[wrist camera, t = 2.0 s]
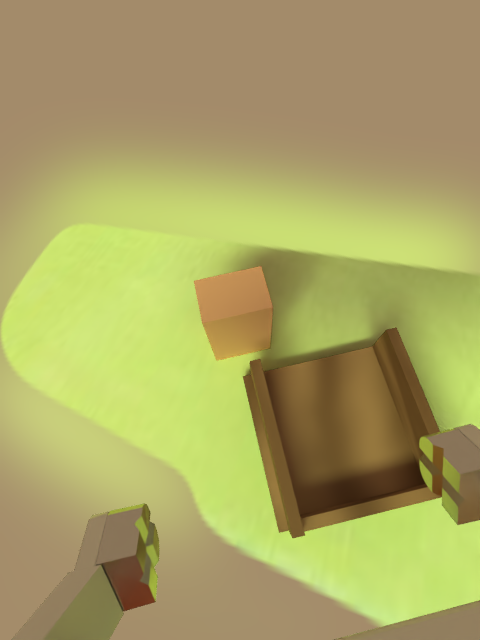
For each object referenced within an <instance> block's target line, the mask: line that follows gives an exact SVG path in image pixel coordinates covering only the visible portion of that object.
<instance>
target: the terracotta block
mask: <svg viewBox="0 0 480 640" xmlns="http://www.w3.org/2000/svg"><path fill="white" fill-rule="evenodd" d="M194 284H195V289H196V294H197V299H198V304H199V309H200V314H201V319H202V324H203V326H204V329H205V331H206V334H207V337H208V339H209V342H210V345H211V347H212V350H213V353H214V355H215V358H216V360H222V359H226V358H230V357H235V356H239V355H243V354H248V353H252V352H256V351H261V350H265V349H269V348H270V344H271V329H272V314H273V306H272V302H271V299H270V295H269V292H268V288H267V285H266V281H265V278H264V274H263V271H262V267H261V266H259V267H254V268H250V269H245V270H241V271H236V272H232V273H227V274H223V275H218V276H214V277H209V278H205V279H200V280H196V281H194Z"/></svg>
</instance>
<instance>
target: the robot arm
mask: <svg viewBox="0 0 480 640" xmlns="http://www.w3.org/2000/svg"><path fill="white" fill-rule="evenodd" d="M419 448H420V449H421V450H422V451H423V452H424V453H423V455H422V456H421V458H420V459H419V462H420V471H421V474H422V477H423V479H424V481H425V483H426V485H427V486H428V487H429V489H430V490H431V491H432V493H435V494H437V495H439V496H441V497H442V506H443V507H444V508H445V510H446V511H447V512H448V513H449V515H450V516H451V517H452V519H453V520H454V521H455V522H456V524H457V525H460V524H464V523H469V522H473V521H478V520H480V430H479V429H478V428H477V427H476V426H474V425H471V424H469V425H465V426H461V427H457V428H454V429H449V430H445V431H441V432H437V433H433V434H429V435H425V436H422V437H421V438H420V441H419ZM158 561H159V538H158V534H157V530H156V527H155V524H154V523H152V522H150V511H149V508H148V506H147V504H140V505H136V506H131V507H126V508H122V509H117V510H112V511H110V512H105V513H100V514H96V515H92V516H91V518H90V519H89V521H88V524H87V528H86V532H85V535H84V538H83V542H82V546H81V549H80V552H79V555H78V559H77V563H76V566H75V569H74V571H73V572H69V573H68V574H67V575H66V576H65V577H64V578H63V580H62V581H61V582H60V583H59V585H58V586H57V587H56V588H55V589H54V590H53V591H52V593H51V594H50V595H49V596H48V597H47V598H46V600H45V601H44V602H43V603H42V604H41V606H40V607H39V608H38V609H37V610H36V611H35V613H34V614H33V615H32V616H31V617H30V619H29V620H28V621H27V622H26V623H25V624H24V625H23V627H22V628H21V629H20V630H19V631H18V633H17V634H16V635H15V636H14V637H13V639H12V640H109V639H110V637H111V636H112V634H113V632H114V630H115V628H116V627H117V625H118V623H119V621H120V619H121V618H122V616H123V614H124V613H123V611H127V610H130V609H134V608H137V607H141V606H144V605H148V604H151V603H154V602H156V590H157V578H158V576H157V574H156V571H155V569H154V567H155V566H156V564H157V563H158ZM334 640H480V600H479V601H476V602H472V603H468V604H465V605H461V606H457V607H453V608H450V609H446V610H442V611H439V612H435V613H431V614H427V615H424V616H420V617H416V618H413V619H409V620H405V621H401V622H398V623H394V624H390V625H387V626H383V627H379V628H375V629H372V630H368V631H364V632H361V633H357V634H353V635H349V636H346V637H342V638H338V639H334Z"/></svg>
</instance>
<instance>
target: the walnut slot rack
mask: <svg viewBox="0 0 480 640" xmlns="http://www.w3.org/2000/svg"><path fill="white" fill-rule="evenodd" d="M250 369H251V375H247V376H243V379H244V383H245V388H246V392H247V396H248V401H249V405H250V409H251V413H252V418H253V422H254V426H255V431H256V435H257V439H258V444H259V448H260V452H261V457H262V461H263V465H264V470H265V474H266V478H267V482H268V487H269V491H270V495H271V500H272V504H273V508H274V513H275V517H276V521H277V526H278V530H279V533H280V532H284V531H288V530H289V532H290V534H291V536H292V538H296V537H300V536H304V535H305V533H304V532H305V531H309V530H313V529H317V528H321V527H325V526H329V525H333V524H337V523H341V522H345V521H349V520H353V519H357V518H361V517H365V516H369V515H373V514H377V513H381V512H385V511H389V510H392V509H396V508H400V507H404V506H408V505H412V504H416V503H420V502H424V501H428V500H432V499H436V498H440V497H441V496H439V495H437V494H435V493H432V491H431V490H430V489H429V487H428V486H427V485H426V483H425V481H424V479H423V477H422V474H421V471H420V462H419V459H420V458H421V456H422V455H423V453H424V452H423V451H422V450H421V449H420V448H419V441H420V438H421V437H422V436H425V435H429V434H433V433H437V432H440V430H439V428H438V426H437V423H436V421H435V418H434V416H433V414H432V411H431V409H430V407H429V404H428V402H427V399H426V397H425V395H424V392H423V390H422V387H421V385H420V383H419V380H418V378H417V375H416V373H415V371H414V368H413V366H412V363H411V361H410V359H409V356H408V354H407V352H406V349H405V347H404V344H403V342H402V340H401V337H400V335H399V332H398V330H397V328H392V329H387V330H386V331H385V332H384V333H383V334H382V336H381V337H380V338H379V339H378V340H377V342H376V343H375V344H374V345H373V346H372V347H368V348H363V349H359V350H355V351H351V352H346V353H342V354H338V355H333V356H329V357H325V358H320V359H316V360H312V361H308V362H303V363H299V364H295V365H290V366H286V367H282V368H277V369H273V370H269V371H265V372H263V369H262V365H261V361H260V359H258V360H253V361H250Z"/></svg>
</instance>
